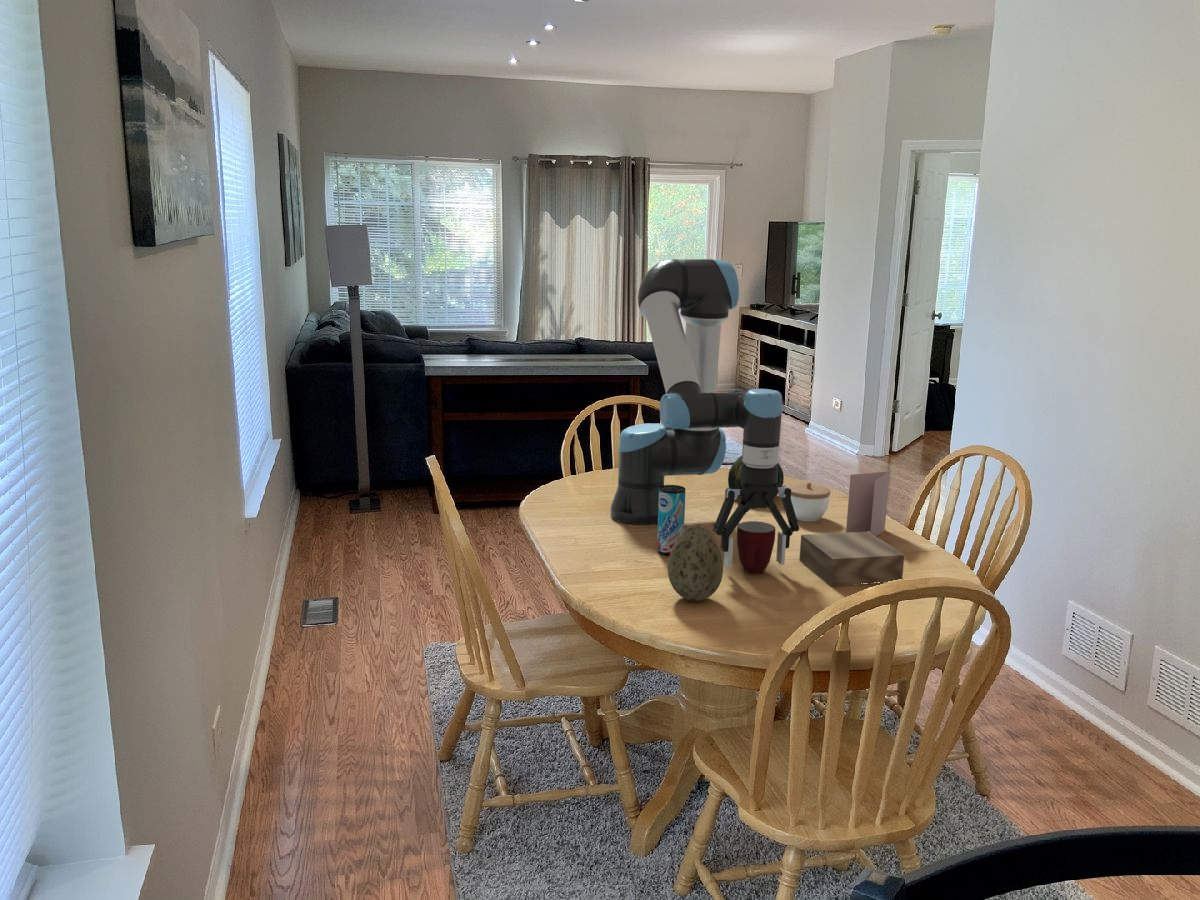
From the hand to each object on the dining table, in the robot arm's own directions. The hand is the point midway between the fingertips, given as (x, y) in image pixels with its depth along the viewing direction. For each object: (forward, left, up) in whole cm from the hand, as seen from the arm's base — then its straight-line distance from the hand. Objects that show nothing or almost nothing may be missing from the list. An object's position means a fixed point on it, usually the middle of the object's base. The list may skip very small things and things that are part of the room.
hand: (754, 564), depth 198 cm
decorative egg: (-17, -12, -2) cm, 21 cm away
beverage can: (-14, +16, -2) cm, 21 cm away
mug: (0, 0, -2) cm, 2 cm away
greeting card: (+38, +20, -2) cm, 43 cm away
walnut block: (+21, -2, -2) cm, 21 cm away
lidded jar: (+28, +36, -2) cm, 46 cm away
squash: (+22, +57, -2) cm, 61 cm away
